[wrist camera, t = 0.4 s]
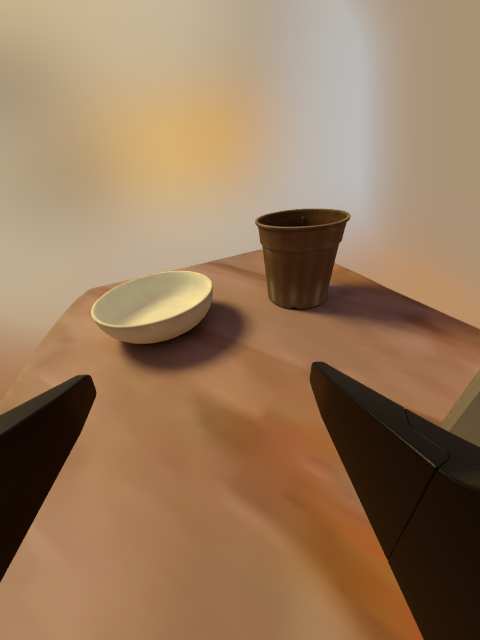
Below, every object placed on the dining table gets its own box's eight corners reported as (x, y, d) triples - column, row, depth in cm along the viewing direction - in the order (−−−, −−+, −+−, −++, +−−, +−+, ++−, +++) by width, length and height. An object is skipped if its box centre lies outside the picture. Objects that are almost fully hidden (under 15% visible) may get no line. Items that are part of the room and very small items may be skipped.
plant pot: (302, 327, 39) (310, 230, 30) (243, 297, 50) (237, 220, 41) (351, 295, 47) (369, 211, 38) (291, 275, 58) (295, 206, 49)
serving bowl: (128, 304, 52) (116, 276, 49) (217, 294, 53) (212, 266, 49) (85, 368, 35) (62, 333, 31) (218, 351, 36) (211, 315, 32)
